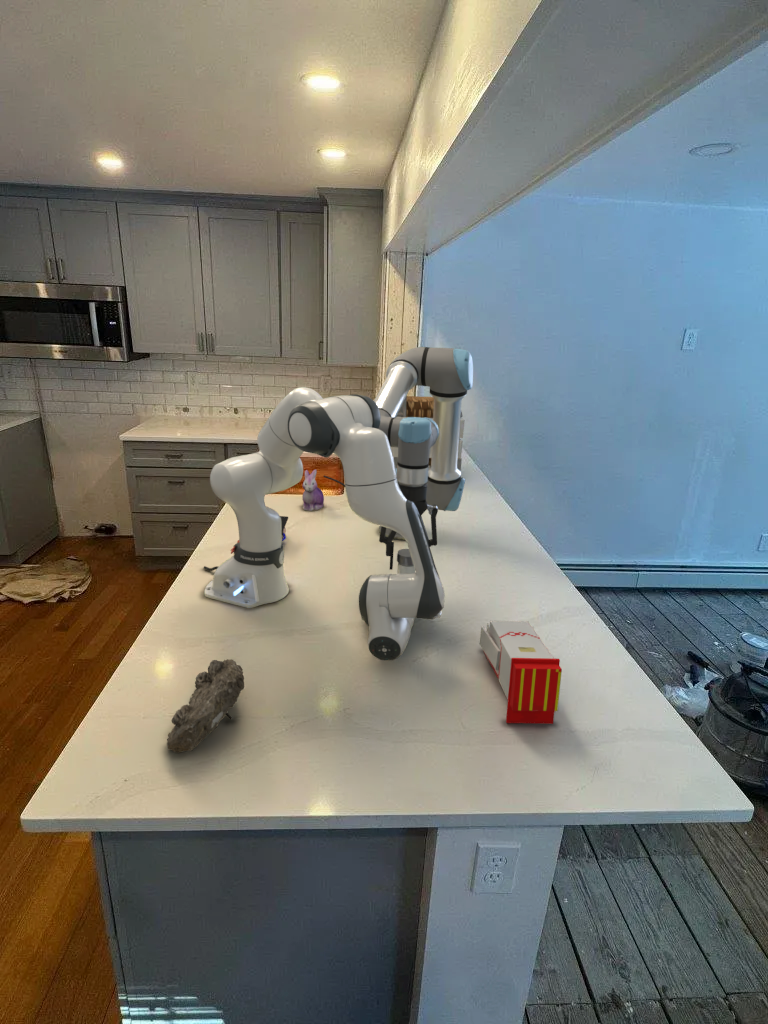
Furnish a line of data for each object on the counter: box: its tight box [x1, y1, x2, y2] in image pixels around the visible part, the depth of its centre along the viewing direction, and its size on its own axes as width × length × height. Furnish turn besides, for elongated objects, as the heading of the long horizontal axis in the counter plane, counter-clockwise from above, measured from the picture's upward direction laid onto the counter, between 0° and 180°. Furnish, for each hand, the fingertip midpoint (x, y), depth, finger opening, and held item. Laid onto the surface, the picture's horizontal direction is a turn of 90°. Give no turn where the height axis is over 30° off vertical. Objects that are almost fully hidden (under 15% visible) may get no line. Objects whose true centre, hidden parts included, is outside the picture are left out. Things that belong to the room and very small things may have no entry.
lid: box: [396, 548, 414, 565], centre depth 144 cm, size 5×5×2 cm
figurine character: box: [279, 515, 289, 543], centre depth 186 cm, size 7×8×15 cm
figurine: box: [302, 469, 325, 511], centre depth 219 cm, size 9×10×15 cm
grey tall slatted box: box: [391, 395, 465, 473], centre depth 268 cm, size 34×33×41 cm
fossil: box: [166, 658, 245, 754], centre depth 106 cm, size 22×10×15 cm
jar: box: [396, 562, 416, 574], centre depth 146 cm, size 4×4×16 cm
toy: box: [478, 620, 563, 725], centre depth 121 cm, size 12×13×30 cm
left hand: (405, 587), depth 148 cm, fingers closed on jar, 4 cm apart
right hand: (406, 568), depth 145 cm, fingers open, 7 cm apart
